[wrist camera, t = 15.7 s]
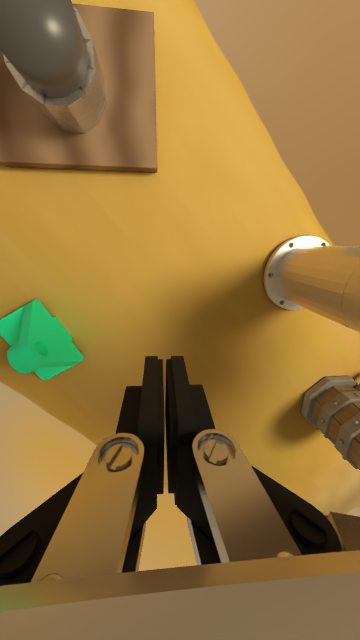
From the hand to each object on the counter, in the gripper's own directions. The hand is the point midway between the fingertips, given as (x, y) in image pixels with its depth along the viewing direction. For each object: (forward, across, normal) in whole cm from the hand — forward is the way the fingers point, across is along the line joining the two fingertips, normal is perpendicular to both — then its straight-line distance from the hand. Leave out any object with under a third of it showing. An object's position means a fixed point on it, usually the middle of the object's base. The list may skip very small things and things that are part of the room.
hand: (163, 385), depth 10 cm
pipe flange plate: (+29, +11, -23) cm, 38 cm away
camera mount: (+29, +20, +10) cm, 36 cm away
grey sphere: (+24, +11, -23) cm, 34 cm away
